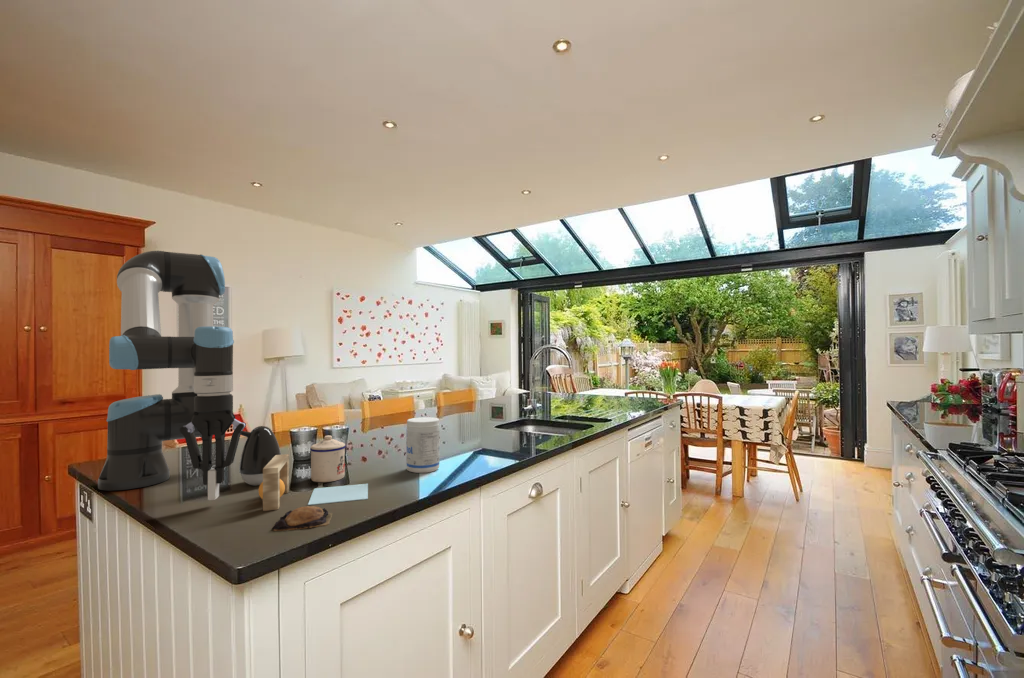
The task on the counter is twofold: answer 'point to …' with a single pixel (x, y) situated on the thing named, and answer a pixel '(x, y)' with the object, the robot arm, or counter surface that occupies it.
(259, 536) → the counter surface
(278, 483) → the bridge
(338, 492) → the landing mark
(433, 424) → the supplement tub
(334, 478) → the teacup with lid
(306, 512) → the mussel
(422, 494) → the counter surface
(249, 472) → the pump dispenser
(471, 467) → the counter surface
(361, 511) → the counter surface
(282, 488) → the ball
